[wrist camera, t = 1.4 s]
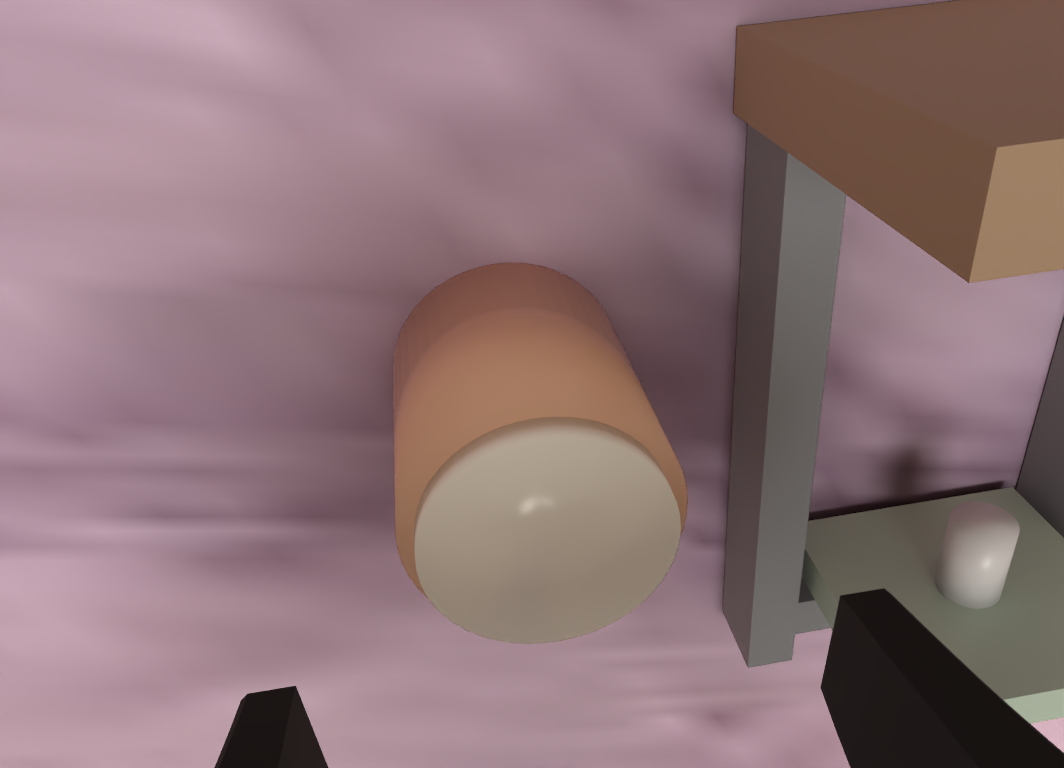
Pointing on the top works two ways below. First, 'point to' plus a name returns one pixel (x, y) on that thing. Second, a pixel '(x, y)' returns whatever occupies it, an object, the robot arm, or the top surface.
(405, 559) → the terracotta jar
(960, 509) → the pusher paddle
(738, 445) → the pusher lane
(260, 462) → the top surface
